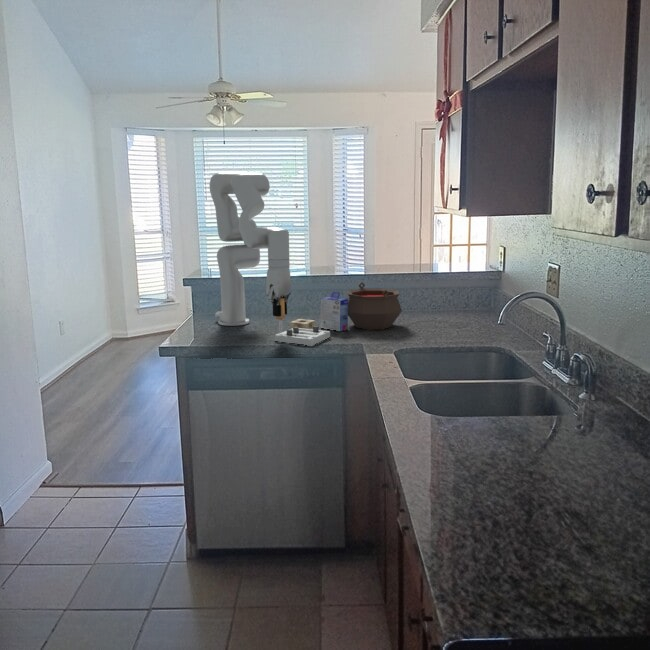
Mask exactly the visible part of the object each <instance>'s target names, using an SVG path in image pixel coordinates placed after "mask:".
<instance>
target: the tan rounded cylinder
mask: <svg viewBox="0 0 650 650" xmlns="http://www.w3.org/2000/svg"><path fill="white" fill-rule="evenodd" d="M275 299H276V300H277V298H275ZM280 305H281V316H275V319H277V320H278V333H282V332H283V319H286V315H285V304H284V298H280Z"/></svg>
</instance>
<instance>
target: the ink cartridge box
mask: <svg viewBox="0 0 650 650" xmlns="http://www.w3.org/2000/svg"><path fill="white" fill-rule="evenodd" d="M335 294H336V295H335ZM340 295H341V292H340V291H339V292H338V291H332V293H331V296H326V297H321V298H320V328H319V329H321V328H324V329H323V330H327V329H330V330H329V331H333V330H336V331H335V332H344V331H347V330H346V329H348V328H349V316H348V298H342V297H340ZM343 330H344V331H343Z"/></svg>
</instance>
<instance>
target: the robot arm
mask: <svg viewBox="0 0 650 650" xmlns="http://www.w3.org/2000/svg"><path fill="white" fill-rule="evenodd" d="M209 180H210V181H209V193H210V196H211V199H212V201H213V204H214V209H215V218H216V227H217V235H218V238H219V240H220V241H222V242H224V243H225V242H226V243H231V242H234V243H235V242H243V244H229V245H224V246H222V247H220V248H219V249H218V250H217V252H216V260H217V266H218V270H219V282H220V300H221V311H216V312H215V314H214V316H215V317H217V318H219V319H218V322H217V323H218V325H221V326H226V327H232V326H233V327H234V326H236V327H238V326H245V325H247V324H250V318H247V317H246V296H245V294H246V293H245V292H246V291H245V279H244V277H243V275H242V273H241V272H240V271H239V270H240V269H251V268H255V267H257V266H258V265H259V264H260V261H261V251H260V250H261V249H267V270H266V282H265V284H266V285H265V291H266V292H265V293H266V294H265V295H266V297H267V299H268V300H269V301H270V302H271V305H272V316H273V317H276V316H281V305H280V298H284V304H285V316H286V315H288V302H289V300H288V299H289V297H290V296H291V291H292V281H291V280H292V279H291V270H290V268H291V267H290V266H291V265H290V232H289V231H288V229H286V228H280V227H277V226H261V227H259V226H257V224H256V221H255V220H254V219H253V218H255V217H256V216H258V215H260V214H261V213H262V212H263V211H264V209H265V201H264V199H263V196H266V195H267V194H268V193H270V181H269V179H268V177H267V176H266V175H265V174H264V173H261V172H250V171H249V172H248V171H221V172H217V173H214V174H213V175H212V176H211V177H210V179H209ZM230 195H235V197H236V199H237V202H238V204H239V206H240V208H241V213H240V215H238V206H237V203H236V202H235V201H234V199H233V198H232V197H231V196H230ZM276 298H277V300H276Z"/></svg>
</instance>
